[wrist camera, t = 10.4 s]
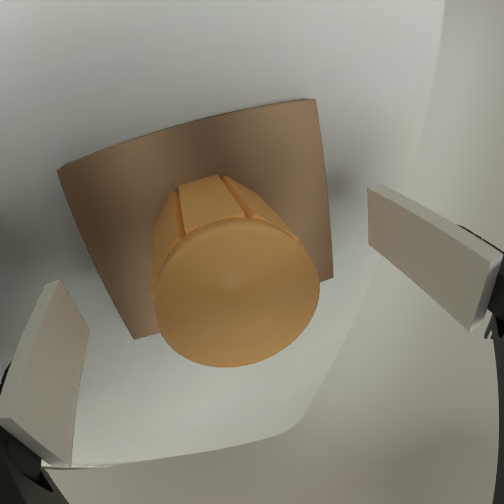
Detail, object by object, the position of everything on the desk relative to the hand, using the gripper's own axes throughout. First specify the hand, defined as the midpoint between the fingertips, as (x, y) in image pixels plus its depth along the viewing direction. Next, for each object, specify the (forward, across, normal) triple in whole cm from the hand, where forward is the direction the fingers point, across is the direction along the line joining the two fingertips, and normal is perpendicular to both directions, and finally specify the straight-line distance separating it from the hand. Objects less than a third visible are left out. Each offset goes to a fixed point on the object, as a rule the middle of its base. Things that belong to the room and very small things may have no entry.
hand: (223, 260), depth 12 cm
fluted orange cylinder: (+3, 0, 0) cm, 3 cm away
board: (+4, 0, 0) cm, 4 cm away
